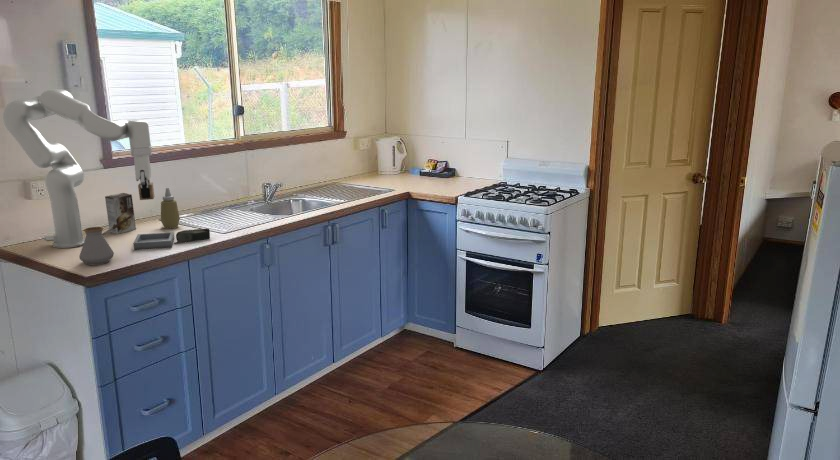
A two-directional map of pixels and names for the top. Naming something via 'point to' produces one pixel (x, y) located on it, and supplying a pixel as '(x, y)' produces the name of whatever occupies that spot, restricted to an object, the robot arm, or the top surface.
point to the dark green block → (192, 235)
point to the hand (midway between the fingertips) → (146, 196)
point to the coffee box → (120, 212)
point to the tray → (154, 241)
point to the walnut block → (150, 191)
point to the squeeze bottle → (169, 211)
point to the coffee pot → (97, 245)
